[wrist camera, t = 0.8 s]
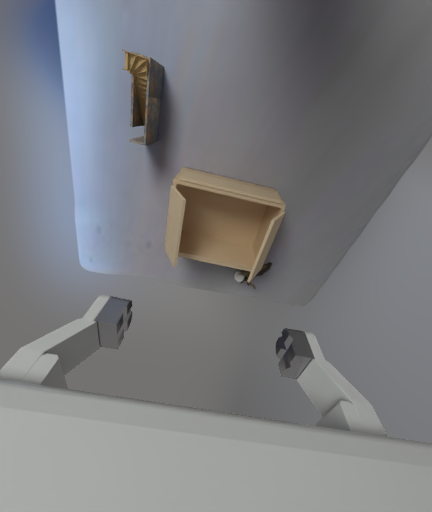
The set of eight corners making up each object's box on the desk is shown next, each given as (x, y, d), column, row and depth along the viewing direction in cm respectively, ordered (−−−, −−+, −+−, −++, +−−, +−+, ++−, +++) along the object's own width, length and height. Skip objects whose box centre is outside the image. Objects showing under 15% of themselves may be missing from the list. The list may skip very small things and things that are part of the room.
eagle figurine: (262, 281, 59) (278, 260, 53) (249, 296, 54) (265, 274, 48) (241, 264, 61) (254, 242, 55) (226, 276, 56) (239, 253, 50)
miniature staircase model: (146, 61, 36) (122, 46, 28) (164, 67, 36) (145, 54, 28) (142, 136, 42) (122, 141, 34) (158, 140, 42) (141, 147, 34)
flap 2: (282, 211, 38) (271, 219, 33) (285, 212, 38) (274, 221, 33) (259, 268, 45) (247, 281, 40) (261, 269, 45) (249, 282, 40)
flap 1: (170, 185, 36) (182, 199, 32) (173, 185, 36) (185, 200, 32) (164, 248, 43) (173, 267, 39) (167, 248, 43) (176, 266, 39)
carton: (184, 163, 44) (173, 175, 36) (276, 186, 45) (287, 202, 37) (175, 232, 53) (165, 254, 45) (253, 249, 54) (257, 273, 46)
